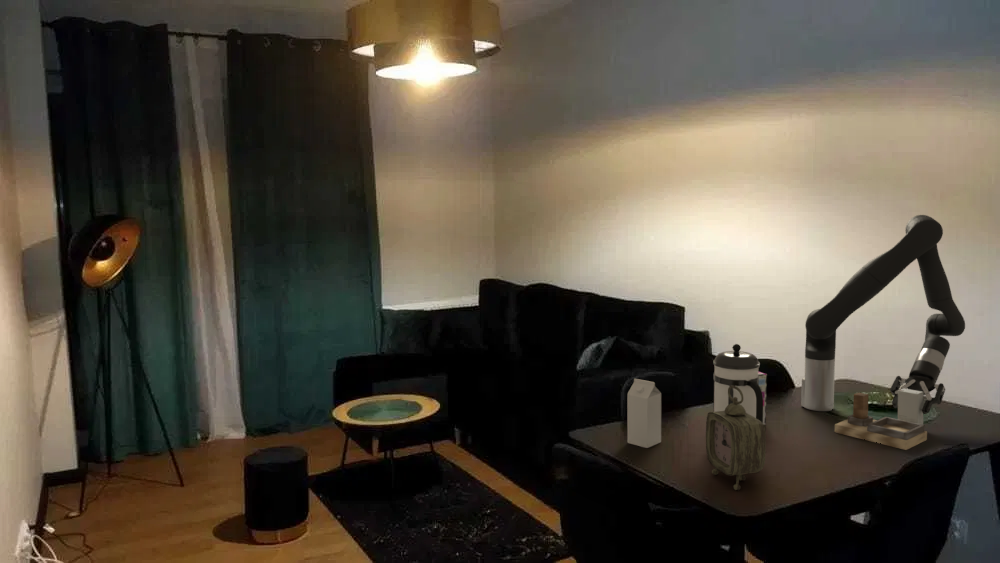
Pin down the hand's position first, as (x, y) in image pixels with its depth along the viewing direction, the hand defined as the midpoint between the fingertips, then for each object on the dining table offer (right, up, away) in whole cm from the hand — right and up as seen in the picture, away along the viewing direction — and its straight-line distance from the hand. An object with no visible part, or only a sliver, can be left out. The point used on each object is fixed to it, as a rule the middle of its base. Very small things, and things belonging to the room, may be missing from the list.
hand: (909, 409), depth 229 cm
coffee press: (-55, -9, -10) cm, 56 cm away
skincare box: (+1, -7, +1) cm, 7 cm away
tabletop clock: (-64, -13, -35) cm, 74 cm away
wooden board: (-11, -7, -4) cm, 13 cm away
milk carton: (-81, -9, -5) cm, 82 cm away
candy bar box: (-44, -6, +14) cm, 46 cm away
